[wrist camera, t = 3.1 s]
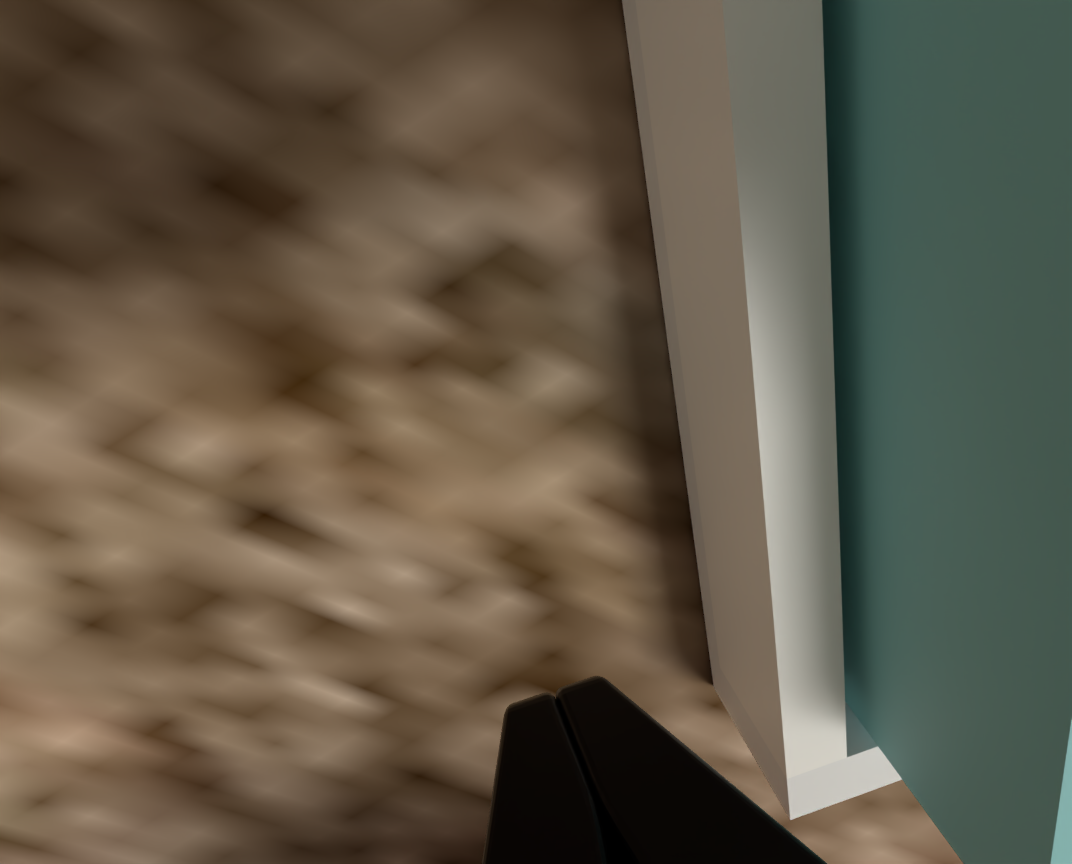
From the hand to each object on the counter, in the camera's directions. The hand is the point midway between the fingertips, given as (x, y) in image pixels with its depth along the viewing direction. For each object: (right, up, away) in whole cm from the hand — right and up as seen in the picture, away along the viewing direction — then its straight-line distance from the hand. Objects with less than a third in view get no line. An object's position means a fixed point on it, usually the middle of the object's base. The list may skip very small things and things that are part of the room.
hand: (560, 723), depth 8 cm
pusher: (+4, +4, +5) cm, 8 cm away
